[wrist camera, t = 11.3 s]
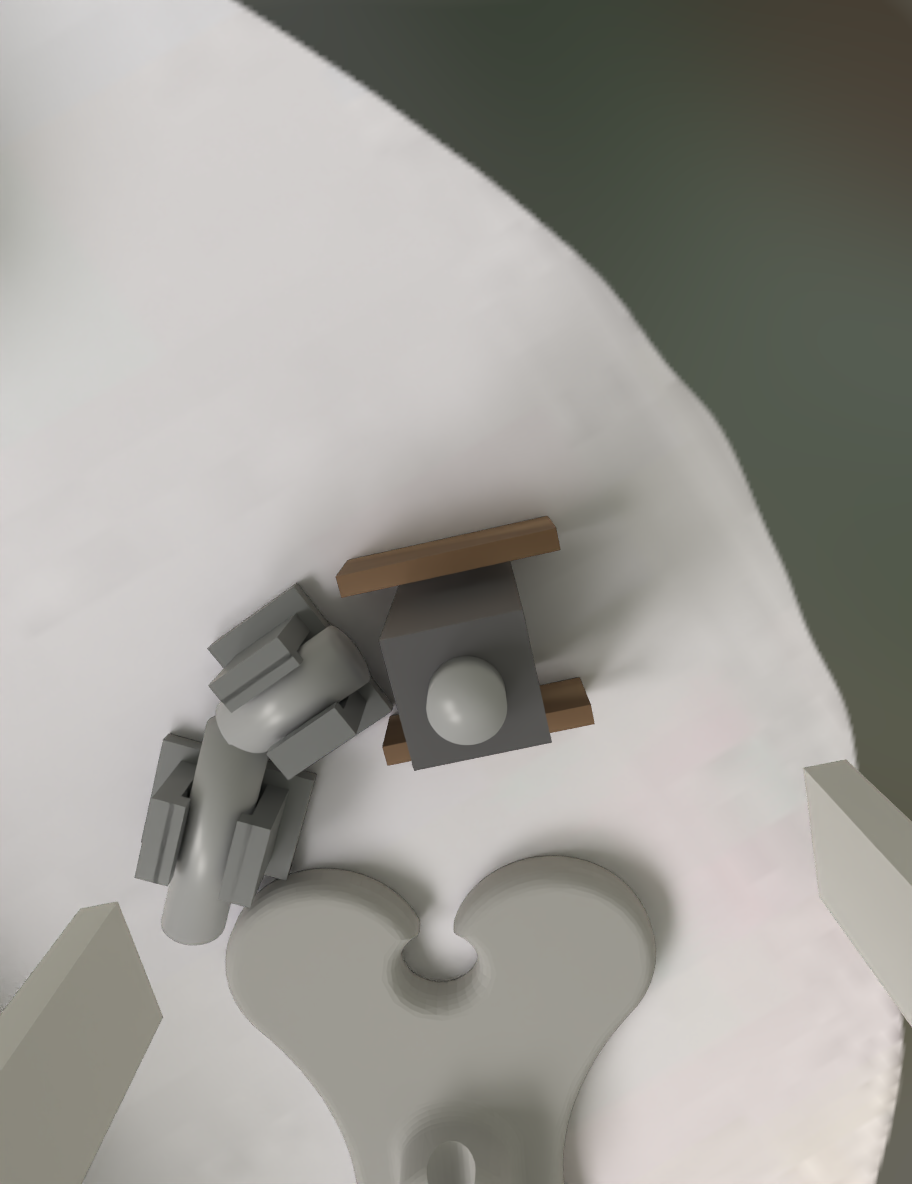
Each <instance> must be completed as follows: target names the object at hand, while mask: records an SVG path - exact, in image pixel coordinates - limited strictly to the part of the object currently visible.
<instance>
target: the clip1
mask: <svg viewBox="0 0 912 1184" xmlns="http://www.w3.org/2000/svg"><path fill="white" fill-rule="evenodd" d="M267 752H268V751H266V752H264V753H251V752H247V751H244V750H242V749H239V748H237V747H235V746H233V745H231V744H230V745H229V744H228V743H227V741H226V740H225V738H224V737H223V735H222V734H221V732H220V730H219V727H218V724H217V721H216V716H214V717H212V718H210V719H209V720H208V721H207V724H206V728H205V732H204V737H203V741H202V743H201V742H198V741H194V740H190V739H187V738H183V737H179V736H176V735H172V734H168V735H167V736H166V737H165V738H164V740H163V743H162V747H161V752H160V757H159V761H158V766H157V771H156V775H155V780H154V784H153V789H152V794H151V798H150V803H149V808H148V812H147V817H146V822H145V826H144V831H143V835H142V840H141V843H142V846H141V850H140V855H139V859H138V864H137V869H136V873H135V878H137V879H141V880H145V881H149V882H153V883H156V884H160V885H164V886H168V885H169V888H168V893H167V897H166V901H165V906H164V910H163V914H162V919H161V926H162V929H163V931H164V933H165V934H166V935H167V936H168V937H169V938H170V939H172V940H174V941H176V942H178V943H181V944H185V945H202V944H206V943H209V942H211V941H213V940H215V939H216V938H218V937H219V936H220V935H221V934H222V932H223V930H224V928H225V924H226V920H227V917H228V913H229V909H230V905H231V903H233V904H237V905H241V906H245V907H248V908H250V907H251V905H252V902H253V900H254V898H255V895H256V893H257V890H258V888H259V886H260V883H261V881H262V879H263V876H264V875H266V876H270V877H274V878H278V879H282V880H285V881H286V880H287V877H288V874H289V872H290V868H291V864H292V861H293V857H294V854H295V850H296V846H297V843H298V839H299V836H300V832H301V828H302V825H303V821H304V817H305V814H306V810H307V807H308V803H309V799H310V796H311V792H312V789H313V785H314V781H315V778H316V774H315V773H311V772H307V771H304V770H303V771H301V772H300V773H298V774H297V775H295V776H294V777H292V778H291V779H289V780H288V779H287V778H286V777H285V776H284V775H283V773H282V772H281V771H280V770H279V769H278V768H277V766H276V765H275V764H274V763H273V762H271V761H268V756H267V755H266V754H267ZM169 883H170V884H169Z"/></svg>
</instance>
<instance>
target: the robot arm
mask: <svg viewBox="0 0 912 1184" xmlns="http://www.w3.org/2000/svg"><path fill="white" fill-rule="evenodd" d="M803 770H804V778H805V786H806V794H807V802H808V810H809V819H810V827H811V835H812V843H813V851H814V859H815V867H816V876H817V884H818V892H819V897H820V899H821V900H822V902H823V903H824V904H825V906H826V907H827V909H828V910H829V911H830V913H831V914H832V916H833V917H834V918H835V920H836V921H837V923H838V924H839V925H840V927H841V928H842V930H843V931H844V932H845V934H846V935H847V937H848V938H849V939H850V941H851V942H852V944H853V945H854V946H855V948H856V949H857V951H858V952H859V954H860V955H861V956H862V958H863V959H864V961H865V962H866V963H867V965H868V966H869V968H870V969H871V970H872V972H873V973H874V975H875V976H876V977H877V979H878V980H879V982H880V983H881V984H882V986H883V987H884V989H885V990H886V991H887V993H888V994H889V996H890V997H891V998H892V1000H893V1001H894V1003H895V1004H896V1006H897V1007H898V1008H899V1010H900V1011H901V1013H902V1014H903V1015H904V1017H905V1018H906V1020H907V1021H908V1022H909V1024H910V1025H911V1027H912V822H911V821H910V820H909V819H908V818H907V817H906V816H905V815H904V814H903V813H902V812H901V811H900V810H899V809H898V808H897V807H896V806H895V805H893V804H892V803H891V802H890V801H889V800H888V799H887V798H886V797H885V796H884V795H883V794H882V793H881V792H880V791H879V790H878V789H877V788H876V787H875V786H873V785H872V784H871V783H870V782H869V781H868V780H867V779H866V778H865V777H864V776H863V775H862V774H861V773H860V772H859V771H858V770H857V769H855V768H854V767H853V766H852V765H851V764H850V763H849V762H848V761H847V760H841V761H836V762H831V763H826V764H820V765H815V766H810V767H805V768H803ZM162 1018H163V1016H162V1013H161V1011H160V1008H159V1006H158V1003H157V1001H156V998H155V995H154V993H153V990H152V988H151V985H150V983H149V980H148V978H147V975H146V972H145V970H144V967H143V965H142V962H141V960H140V957H139V955H138V952H137V949H136V947H135V944H134V942H133V939H132V937H131V934H130V932H129V929H128V927H127V924H126V921H125V919H124V916H123V914H122V911H121V909H120V906H119V904H118V902H113V903H107V904H102V905H97V906H92V907H87V908H82V909H80V910H79V911H78V912H77V914H76V915H75V916H74V918H73V919H72V920H71V922H70V923H69V924H68V926H67V927H66V928H65V930H64V931H63V932H62V934H61V935H60V936H59V938H58V939H57V940H56V942H55V943H54V944H53V946H52V947H51V948H50V950H49V951H48V952H47V954H46V955H45V956H44V958H43V959H42V960H41V962H40V963H39V964H38V966H37V967H36V968H35V970H34V971H33V972H32V974H31V975H30V976H29V977H28V979H27V980H26V981H25V983H24V984H23V985H22V987H21V988H20V989H19V991H18V992H17V993H16V995H15V996H14V997H13V999H12V1000H11V1001H10V1003H9V1004H8V1005H7V1007H6V1008H5V1009H4V1011H3V1012H2V1013H1V1015H0V1184H82V1182H83V1180H84V1178H85V1176H86V1174H87V1172H88V1170H89V1168H90V1166H91V1164H92V1162H93V1160H94V1157H95V1155H96V1153H97V1151H98V1149H99V1147H100V1145H101V1143H102V1141H103V1139H104V1137H105V1135H106V1133H107V1131H108V1129H109V1127H110V1125H111V1123H112V1121H113V1119H114V1116H115V1114H116V1112H117V1110H118V1108H119V1106H120V1104H121V1102H122V1100H123V1098H124V1096H125V1094H126V1092H127V1090H128V1088H129V1086H130V1084H131V1082H132V1080H133V1078H134V1075H135V1073H136V1071H137V1069H138V1067H139V1065H140V1063H141V1061H142V1059H143V1057H144V1055H145V1053H146V1051H147V1049H148V1047H149V1045H150V1043H151V1041H152V1039H153V1037H154V1034H155V1032H156V1030H157V1028H158V1026H159V1024H160V1022H161V1020H162Z"/></svg>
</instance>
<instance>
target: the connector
mask: <svg viewBox="0 0 912 1184" xmlns="http://www.w3.org/2000/svg"><path fill="white" fill-rule="evenodd" d="M379 644H380V647H381V651H382V655H383V658H384V662H385V666H386V669H387V673H388V677H389V680H390V684H391V688H392V691H393V695H394V699H395V702H396V706H397V710H398V713H399V717H400V721H401V724H402V728H403V732H404V735H405V739H406V743H407V746H408V750H409V754H410V757H411V761H412V765H413V768H414V771H416V770H420V769H425V768H430V767H435V766H440V765H445V764H450V763H454V762H459V761H464V760H469V759H474V758H479V757H484V756H489V755H493V754H498V753H503V752H508V751H513V750H518V749H523V748H527V747H532V746H537V745H542V744H547V743H552V741H551V736H550V732H549V727H548V723H547V718H546V714H545V709H544V705H543V700H542V695H541V691H540V686H539V682H538V677H537V673H536V668H535V664H534V659H533V654H532V650H531V645H530V641H529V636H528V632H527V627H526V623H525V618H524V613H523V609H522V605H521V601H520V597H519V594H518V590H517V586H516V582H515V578H514V574H513V570H512V567H511V563H510V561H508V562H503V563H499V564H494V565H489V566H485V567H480V568H476V569H471V570H467V571H462V572H457V573H453V574H448V575H444V576H439V577H434V578H430V579H425V580H421V581H416V582H412V583H407V584H402V585H399V586H398V589H397V592H396V595H395V597H394V600H393V603H392V606H391V608H390V611H389V614H388V617H387V620H386V622H385V625H384V628H383V631H382V633H381V636H380V639H379Z"/></svg>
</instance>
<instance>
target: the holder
mask: <svg viewBox="0 0 912 1184" xmlns="http://www.w3.org/2000/svg"><path fill="white" fill-rule="evenodd" d="M419 932H420V920H419V918H418V917H417V915H416V914H415V912H414V911H413V910H412V908H411V907H410V906H409V904H408V903H407V902H406V901H405V900H404V899H403V898H402V897H401V896H399V895H398V894H397V893H396V892H395V891H393V890H392V889H391V888H389V887H387V886H386V885H384V884H383V883H381V882H379V881H377V880H375V879H373V878H370V877H368V876H365V875H363V874H359V873H356V872H352V871H347V870H340V869H326V868H324V869H311V870H305V871H299V872H296V873H293V874H290V875H288V877H287V880H286V881H285V880H282V879H278V880H276V881H274V882H272V883H271V884H269V885H267V886H266V887H264V888H263V889H262V890H261V891H260V892H258V893H257V894H256V895H255V898H254V900H253V902H252V905H251V907H250V908H248V907H244V909H243V910H242V912H241V913H240V915H239V917H238V919H237V921H236V923H235V926H234V928H233V930H232V932H231V935H230V938H229V941H228V945H227V950H226V976H227V980H228V985H229V989H230V991H231V993H232V995H233V998H234V1000H235V1002H236V1004H237V1005H238V1007H239V1008H240V1010H241V1012H242V1013H243V1014H244V1015H245V1017H246V1018H247V1019H248V1020H249V1021H250V1022H251V1024H252V1025H253V1026H255V1027H256V1028H257V1029H258V1030H259V1031H260V1032H262V1033H263V1034H264V1035H265V1036H266V1037H267V1038H269V1039H270V1040H271V1041H272V1042H273V1043H274V1044H275V1045H276V1046H278V1047H279V1048H280V1049H281V1050H282V1051H283V1052H284V1053H285V1054H286V1055H287V1056H288V1057H289V1058H290V1059H291V1060H292V1061H293V1063H294V1064H295V1065H296V1066H297V1067H298V1068H299V1069H300V1070H301V1071H302V1072H303V1074H304V1075H305V1076H306V1077H307V1079H308V1080H309V1081H310V1082H311V1084H312V1085H313V1086H314V1088H315V1089H316V1090H317V1091H318V1093H319V1094H320V1096H321V1097H322V1099H323V1100H324V1102H325V1103H326V1105H327V1107H328V1108H329V1110H330V1112H331V1113H332V1115H333V1117H334V1119H335V1121H336V1123H337V1125H338V1127H339V1129H340V1131H341V1133H342V1135H343V1137H344V1140H345V1142H346V1145H347V1148H348V1150H349V1153H350V1156H351V1160H352V1163H353V1167H354V1171H355V1176H356V1182H357V1184H564V1179H563V1152H564V1144H565V1136H566V1131H567V1126H568V1122H569V1118H570V1114H571V1111H572V1108H573V1105H574V1102H575V1099H576V1097H577V1095H578V1092H579V1090H580V1087H581V1085H582V1083H583V1081H584V1079H585V1077H586V1075H587V1073H588V1071H589V1069H590V1068H591V1066H592V1064H593V1062H594V1061H595V1059H596V1057H597V1056H598V1054H599V1053H600V1051H601V1050H602V1048H603V1047H604V1045H605V1044H606V1043H607V1041H608V1040H609V1038H610V1037H611V1036H612V1034H613V1033H614V1032H615V1031H616V1029H617V1028H618V1027H619V1026H620V1024H621V1023H622V1022H623V1021H624V1020H625V1019H626V1018H627V1017H628V1015H629V1014H630V1013H631V1012H632V1011H633V1010H634V1009H635V1008H636V1007H637V1005H638V1004H639V1003H640V1001H641V1000H642V998H643V997H644V995H645V993H646V991H647V990H648V987H649V985H650V983H651V979H652V976H653V973H654V968H655V962H656V947H655V939H654V934H653V930H652V927H651V924H650V921H649V918H648V916H647V913H646V911H645V909H644V907H643V905H642V903H641V902H640V900H639V899H638V897H637V896H636V894H635V893H634V892H633V891H632V890H631V888H630V887H629V886H628V885H627V884H626V883H625V882H624V881H622V880H621V879H620V878H619V877H617V876H616V875H615V874H613V873H611V872H610V871H608V870H607V869H605V868H603V867H601V866H599V865H596V864H594V863H591V862H589V861H585V860H582V859H578V858H572V857H566V856H540V857H532V858H528V859H523V860H520V861H517V862H513V863H511V864H509V865H506V866H504V867H502V868H500V869H498V870H496V871H494V872H493V873H491V874H490V875H488V876H487V877H486V878H484V879H483V880H482V881H481V882H479V883H478V884H477V885H476V886H475V887H474V888H473V889H472V891H471V892H470V893H469V894H468V895H467V897H466V898H465V900H464V901H463V903H462V904H461V906H460V908H459V910H458V912H457V914H456V917H455V919H454V933H455V934H456V935H458V936H460V937H462V938H464V939H465V940H467V941H468V942H469V943H470V944H471V945H472V946H473V947H474V949H475V950H476V952H477V955H478V959H477V962H476V963H475V965H474V967H473V968H472V969H471V970H470V971H469V972H468V973H467V974H465V975H463V976H461V977H460V978H458V979H454V980H451V981H442V982H437V981H431V980H427V979H424V978H422V977H419V976H418V975H416V974H415V973H413V972H412V971H411V970H410V969H409V968H408V967H407V965H406V964H405V962H404V960H403V958H402V953H401V952H402V950H403V948H404V947H405V946H406V944H407V943H408V942H409V941H410V940H412V939H413V938H415V937H417V936H418V935H419Z"/></svg>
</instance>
